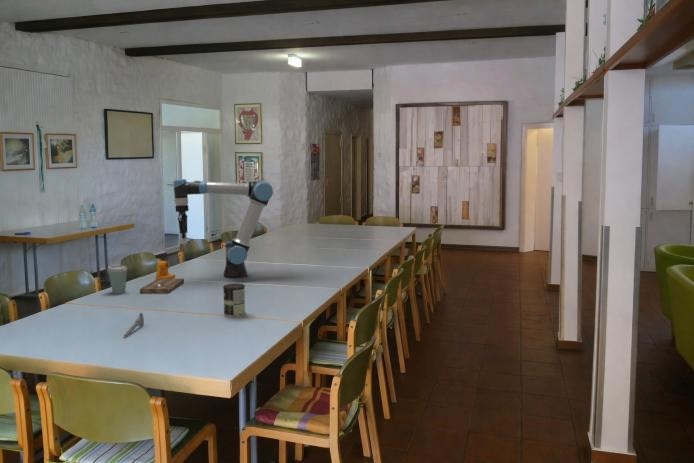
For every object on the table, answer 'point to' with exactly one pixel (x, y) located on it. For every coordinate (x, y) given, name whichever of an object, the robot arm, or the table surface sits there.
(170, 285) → the wooden board with holes
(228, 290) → the coffee can
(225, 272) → the robot arm
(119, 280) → the disposable coffee cup
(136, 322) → the caliper
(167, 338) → the table surface
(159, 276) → the bracket
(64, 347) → the table surface
